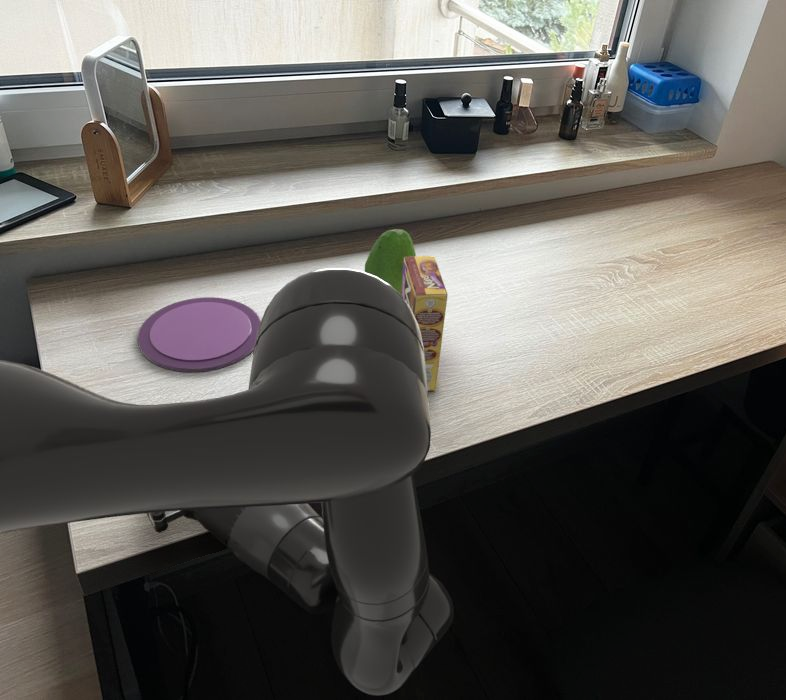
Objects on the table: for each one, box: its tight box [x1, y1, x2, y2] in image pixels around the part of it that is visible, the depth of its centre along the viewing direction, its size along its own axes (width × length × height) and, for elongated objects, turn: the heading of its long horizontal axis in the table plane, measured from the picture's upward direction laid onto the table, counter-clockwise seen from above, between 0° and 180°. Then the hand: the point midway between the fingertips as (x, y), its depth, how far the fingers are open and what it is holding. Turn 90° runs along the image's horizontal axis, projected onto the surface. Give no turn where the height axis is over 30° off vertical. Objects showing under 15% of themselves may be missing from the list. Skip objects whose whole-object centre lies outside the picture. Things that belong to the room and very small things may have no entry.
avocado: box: [364, 228, 417, 294], centre depth 105 cm, size 8×8×12 cm
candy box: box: [401, 255, 449, 392], centre depth 92 cm, size 9×4×15 cm, turn 13°
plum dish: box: [137, 296, 262, 373], centre depth 98 cm, size 16×16×1 cm
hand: (156, 434), depth 75 cm, fingers closed on supplement bottle, 4 cm apart
